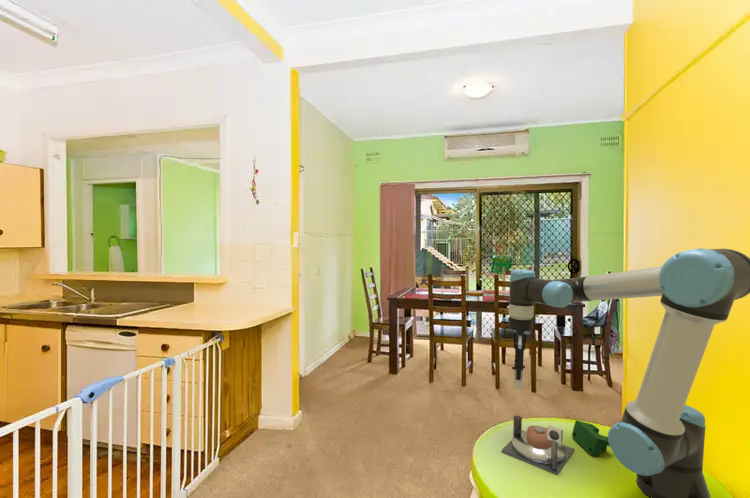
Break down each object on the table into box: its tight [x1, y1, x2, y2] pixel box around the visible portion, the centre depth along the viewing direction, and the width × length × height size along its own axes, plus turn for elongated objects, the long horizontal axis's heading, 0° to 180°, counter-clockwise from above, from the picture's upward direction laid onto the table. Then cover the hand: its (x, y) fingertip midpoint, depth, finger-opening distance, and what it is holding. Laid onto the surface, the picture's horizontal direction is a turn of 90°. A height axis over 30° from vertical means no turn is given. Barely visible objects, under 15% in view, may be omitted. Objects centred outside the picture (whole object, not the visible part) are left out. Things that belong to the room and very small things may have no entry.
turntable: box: [511, 415, 566, 464], centre depth 118 cm, size 15×15×8 cm
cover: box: [526, 425, 551, 449], centre depth 118 cm, size 7×7×4 cm
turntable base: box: [501, 424, 575, 476], centre depth 118 cm, size 16×16×12 cm
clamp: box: [571, 420, 610, 457], centre depth 121 cm, size 12×6×9 cm, turn 177°
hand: (517, 388), depth 127 cm, fingers closed
